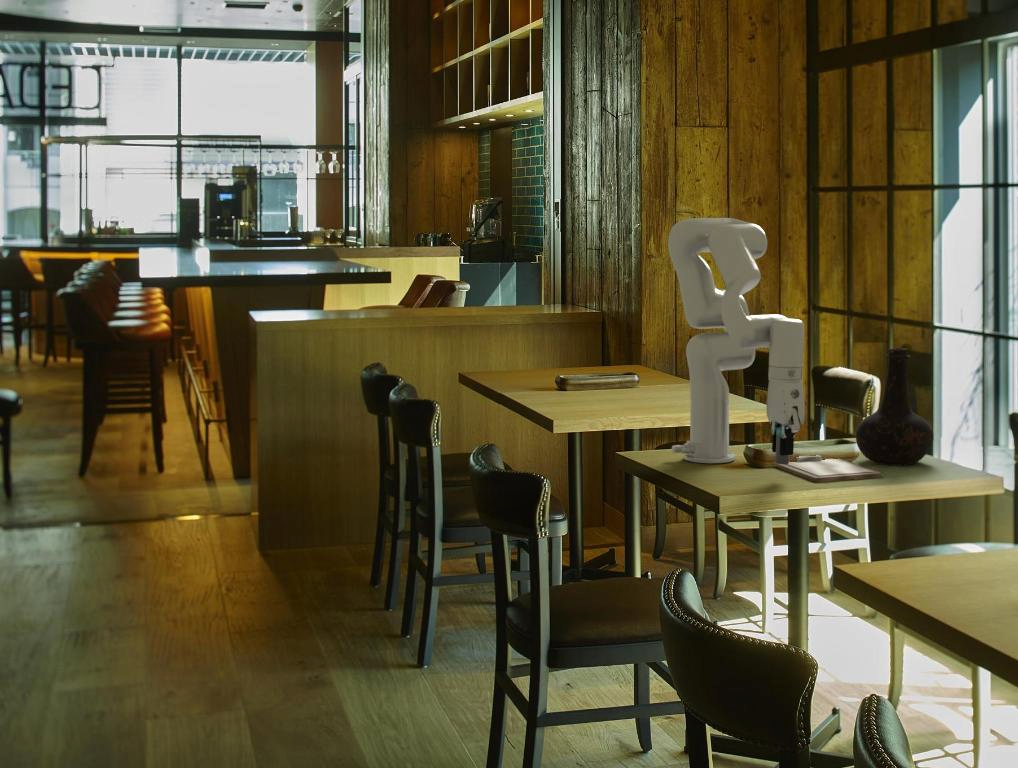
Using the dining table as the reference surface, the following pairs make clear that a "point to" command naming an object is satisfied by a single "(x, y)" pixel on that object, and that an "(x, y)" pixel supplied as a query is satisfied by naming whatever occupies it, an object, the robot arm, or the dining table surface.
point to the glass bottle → (895, 421)
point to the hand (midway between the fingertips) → (782, 452)
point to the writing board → (827, 469)
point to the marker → (779, 458)
